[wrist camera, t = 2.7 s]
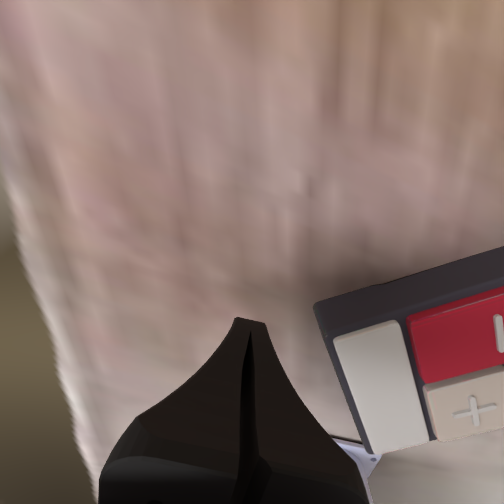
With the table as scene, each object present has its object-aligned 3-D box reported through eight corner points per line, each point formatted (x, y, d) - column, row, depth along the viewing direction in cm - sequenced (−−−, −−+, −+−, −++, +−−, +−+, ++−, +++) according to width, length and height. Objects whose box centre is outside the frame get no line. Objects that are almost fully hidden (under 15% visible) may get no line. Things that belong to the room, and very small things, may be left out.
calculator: (622, 410, 17) (371, 469, 19) (552, 358, 21) (351, 412, 23) (634, 248, 13) (324, 343, 16) (547, 223, 18) (310, 302, 20)
